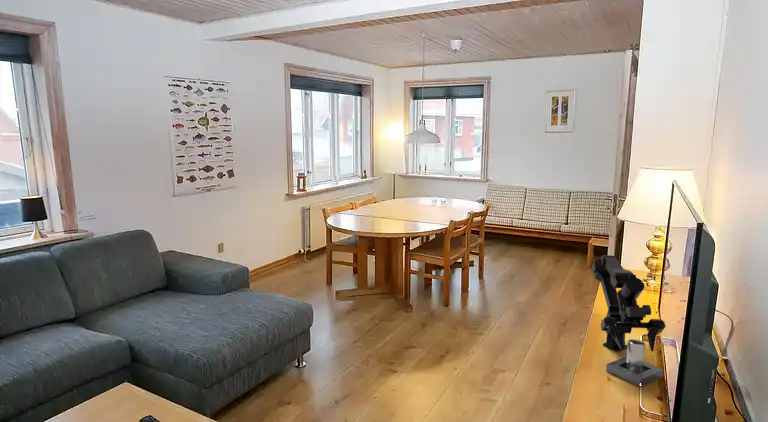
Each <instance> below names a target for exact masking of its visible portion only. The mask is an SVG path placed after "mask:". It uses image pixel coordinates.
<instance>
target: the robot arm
mask: <svg viewBox="0 0 768 422" xmlns="http://www.w3.org/2000/svg"><path fill="white" fill-rule="evenodd" d="M591 272H592V274H593V276H594V278H595V280H596V281H598V282H599V283H600V284H601V287H602V292H603V295H604V298H605V302H606V303H605V304H606V306H607V313H606V316H604V318H603V319H602V321H600V329H601V331H602V332H605V333H606V342H604V343H602V346H604V347H606V348H609V349H611V350H613V351H616V352H620V351H622V350H627V346H628V344H626V334H631V332H632V331H633V330H632V329H646V331H647V333H646V335H647V339H648V345H649V349H650V352H653V351H655V350H654V349H655V342H656V337H657V335H659V334H660V333H662V332H663V331H664V330H665V328H666V322H665V321H664V320H663V319H662V318H650V319H649V320H648V321H647V322H645V321H643V320H644V319H645V318H646V316H651V315H652V308H651V305H650V304H643V305H642V307H640V305H639V304H638V301H637V300H638V298H639V297H640V295H641V294H642V293H643V291H644V289H645V283H644V282H643V281H642V280H641V279H640V278H639V277H637V275H636V274H635V273H633V272H632V271H631V270H628V269H625V268H624V267H623V266H622V265H621V263H620V262H619V261H618V258H617V256H616V255H607V254H606V255H605V254H604V255H601V257H600V258H598V259H595V260H594V261H593V262H592V265H591ZM617 289H619V290H617Z"/></svg>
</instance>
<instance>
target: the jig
mask: <svg viewBox="0 0 768 422" xmlns="http://www.w3.org/2000/svg"><path fill="white" fill-rule="evenodd" d="M626 361H627V355H626V356H624V357H621V358H619V359H616V360H613V361H611V362H609V363H606V367H605V368H606V369H605V371H606V372H607V373H609V374H612V375H613V376H615V377H618V378H620V379H622V380H624V381H626V382H628V383H631V384H633V385H635V386H636V387H639V384H640V383H641V385H642V386H641V387H644V386H645V385H648V384H650V383H652V382H654V381H655V382H656V380H657V381H658V380H659V379H661V378H663V377H664V369H662V368H660V367H659V366H656V365H653V364H651V363H648V362H646V361H644V365H643V372H642V373H640V374H636V373H634V372H632V371H630V370H627V369H626Z"/></svg>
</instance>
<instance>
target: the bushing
mask: <svg viewBox="0 0 768 422" xmlns="http://www.w3.org/2000/svg"><path fill="white" fill-rule="evenodd" d="M645 348H646V343H645V341H643V340H640V339H637V338H636V339H633V338H632V339H628V340H627V348H626V350H627V351H626V356H627V361H626V369H627V370H630V371H632V372H634V373H636V374H640V373H642V372H643V365H644V362H645Z"/></svg>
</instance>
